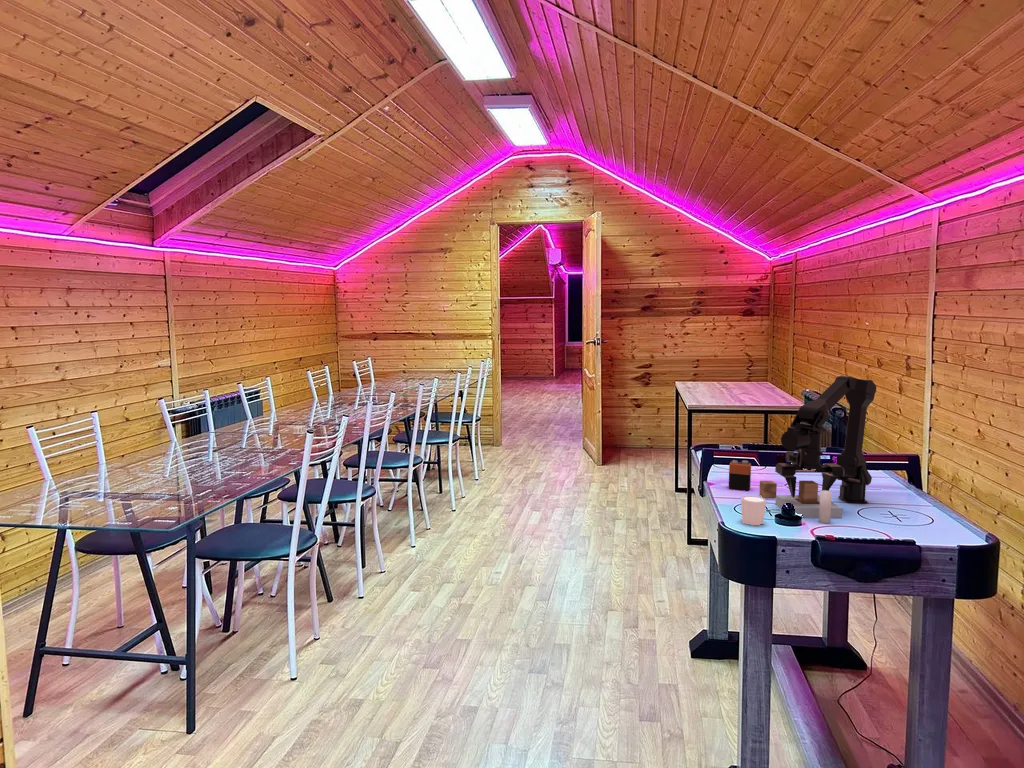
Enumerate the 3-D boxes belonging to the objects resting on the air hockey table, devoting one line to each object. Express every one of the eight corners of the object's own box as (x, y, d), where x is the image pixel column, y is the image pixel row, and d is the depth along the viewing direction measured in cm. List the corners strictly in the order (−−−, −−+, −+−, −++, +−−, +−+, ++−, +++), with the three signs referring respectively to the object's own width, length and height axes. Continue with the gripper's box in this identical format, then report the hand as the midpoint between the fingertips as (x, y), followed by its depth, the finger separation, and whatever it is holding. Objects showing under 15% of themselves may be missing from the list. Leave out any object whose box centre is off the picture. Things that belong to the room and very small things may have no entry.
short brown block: (771, 495, 214) (772, 480, 213) (776, 498, 210) (776, 483, 209) (759, 495, 214) (760, 480, 213) (763, 498, 210) (764, 483, 209)
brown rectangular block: (816, 512, 194) (818, 483, 193) (803, 512, 194) (805, 483, 193) (810, 509, 198) (812, 480, 197) (797, 508, 198) (799, 480, 197)
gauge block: (819, 504, 203) (821, 476, 202) (851, 523, 183) (852, 493, 182) (775, 504, 203) (776, 476, 202) (802, 523, 183) (803, 492, 183)
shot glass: (753, 527, 180) (754, 503, 179) (735, 521, 186) (735, 497, 185) (770, 524, 183) (771, 500, 182) (751, 517, 189) (752, 494, 188)
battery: (749, 491, 218) (750, 462, 217) (728, 489, 221) (729, 460, 220) (750, 488, 222) (751, 460, 221) (729, 486, 225) (730, 458, 224)
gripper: (828, 442, 202) (826, 490, 203) (769, 441, 202) (767, 490, 204) (846, 449, 191) (843, 500, 192) (783, 448, 191) (781, 499, 192)
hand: (808, 497), depth 195 cm, fingers open, 9 cm apart
